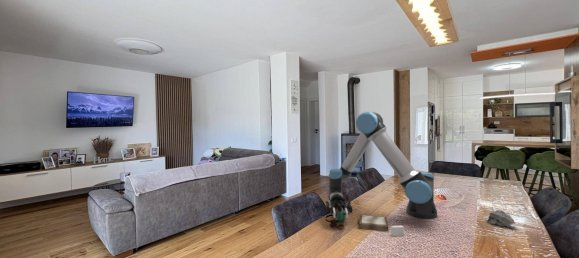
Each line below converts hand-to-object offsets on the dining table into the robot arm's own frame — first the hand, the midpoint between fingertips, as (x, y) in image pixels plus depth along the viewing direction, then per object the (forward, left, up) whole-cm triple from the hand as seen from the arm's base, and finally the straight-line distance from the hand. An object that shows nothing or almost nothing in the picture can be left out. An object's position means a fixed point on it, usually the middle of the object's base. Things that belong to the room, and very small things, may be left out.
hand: (340, 215), depth 119 cm
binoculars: (+3, -4, -7) cm, 9 cm away
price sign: (-25, -1, -7) cm, 26 cm away
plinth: (-15, -10, -7) cm, 19 cm away
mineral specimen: (-74, -26, -7) cm, 79 cm away
